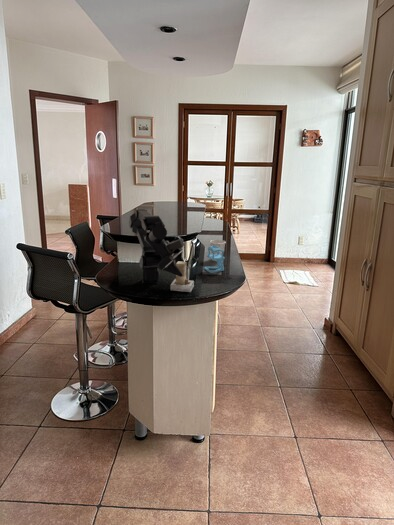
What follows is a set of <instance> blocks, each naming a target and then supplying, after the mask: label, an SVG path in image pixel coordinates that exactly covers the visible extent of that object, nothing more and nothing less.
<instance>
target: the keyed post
mask: <svg viewBox="0 0 394 525" xmlns="http://www.w3.org/2000/svg"><path fill="white" fill-rule="evenodd" d="M187 263H188V262H187V261H184V262H182V261H178V262H177V263H176V266H177V267H178V269H179V270H180V271H181V273H182V274H183V276H182V277H180V276H177V275H175V279H176V284H180V285H186V284H188V280H189V278H187V270H186V266H187V265H188V264H187Z"/></svg>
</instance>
